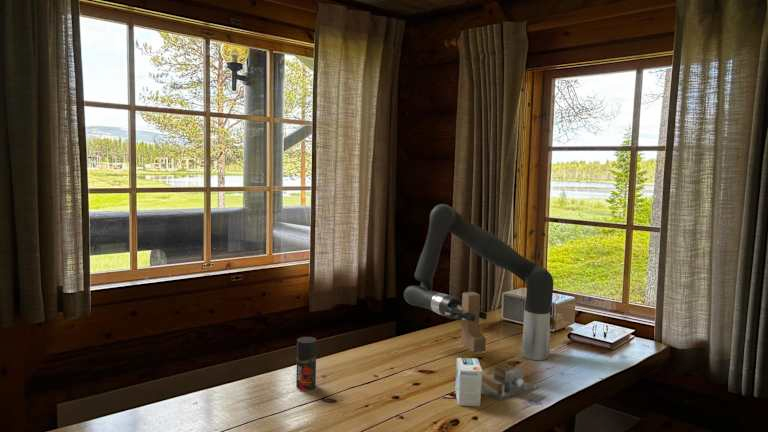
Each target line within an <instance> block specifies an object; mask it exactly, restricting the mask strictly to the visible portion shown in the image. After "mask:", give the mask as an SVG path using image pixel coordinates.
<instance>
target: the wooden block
mask: <svg viewBox="0 0 768 432" xmlns="http://www.w3.org/2000/svg"><path fill="white" fill-rule="evenodd" d="M461 299H462V300H461V302H462V308H463V309H464V311H465V312H466V313H470V314H473V315H475V322H472V321H469V320H467V319H466V320H463V319H461V331H460V333H461V335H460V337H461V339H460V343H461V345H462V346H464V347H465V348H467V349H469V350H470V351H472V352H473V353H478V352H485V351H486V345H487V341H486V340H487V339H486V337H485V336H484V335H483V334H482V331H481V329H480V318H479V312H480V307H481V305H480V304H481V294H479V293H477V292H475V291H466V292H463V293H462V298H461Z"/></svg>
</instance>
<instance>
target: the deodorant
mask: <svg viewBox="0 0 768 432" xmlns="http://www.w3.org/2000/svg"><path fill="white" fill-rule="evenodd" d="M317 340H318V339H317V338H316V337H313V336H301V337H299V338H297V339H296V375H295V376H296V378H295V379H296V382H295V384H296V385H295V387H297V388H298V389H300V390H299V391H301V390H303V391H302V392H309V391H313V390H315V389H316V384H317V381H316V379H317ZM297 388H296V389H297ZM298 389H297V390H298Z"/></svg>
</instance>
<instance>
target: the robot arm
mask: <svg viewBox="0 0 768 432" xmlns="http://www.w3.org/2000/svg"><path fill="white" fill-rule="evenodd" d="M448 233H451V234H452V235H454V236H456V237H457V238H458V239H460V240H461V242H463V243H464V244H465V245H466V246H467V247H469V248H470V249H471V250H472V251H473V252H474V253H475V254H477V255H478V256H479V257H481V258H482V259H484V260H486V261H488V262H489V263H490V264H492V265H494V266H495V267H499V268H501V269H504V270H506V271H508V272H510V273H512V274H513V275H514V276H516V277H517V278H519V279H520V280H521V281H522V282H523V283H524V284H525V285H526V295H525V301H524V309H523V310H524V313H523V327H522V329H523V331H522V343H521V346H522V347H521V355H522V357H523V358H524V359H525V358H526V359H528V360H532V361H543V360H544V361H545V360H546V359H548V357H549V356H550V347H551V346H550V345H551V330H550V323H551V308H552V304H553V295H554V278H553V275H552V274H551V273H550V271H548V269H546V268H545V267H543V266H541V265H539V264H537V263H535V262H533V261H531V260H529V259H527V258H526V257H524V256H523V255H521V254H519V253H518V251H517V250H515V249H514V248H512V246H510V245H509V244H507V243H506V242H505V241H504V240H502V239H500V238H498V237H497V236H496V235H494V234H492V233H491V232H489V231H487V230H486V229H484V228H482V227H481V226H478V225H476V224H475V223H472V222H470V221H469V220H468V219H466V217H464V216H462V215H461V214H459V212H458V211H457V210H455V209H454V208H453V207H452V206H450V205H448V204H446V203H440V204H437V205H436V206H434V207H433V209H432V210H431V212H430V213H429V224H428V232H427V236H426V240H425V242H424V246H423V248H422V252H421V253H420V257H419V259H418V262H417V265H416V269H415V272H414V279H416V280H417V281H418V282H420V286H419V285H409V286H407V287H406V288H405V289H404V292H403V298H404V300H405V302H406V303H408V304H409V305H410V306H415V307H420V308H423V309H427V310H429V311H432V312H434V313H436V314H438V315H441V316H443V317H446V318H449V319H450V320H457V321H462V319H463V320H466V319H467V320H469V321H472V322H475V315H473V314H470V313H466V312H465V311H464V309H463V308H462V300H461V299H460V298H458V297H455V296H452V295H449V294H446V293H442V292H439V291H434V290H433V281H434V280H433V279H434V276H435V273H436V269H437V267H438V263H439V258H440V255H441V251H442V247H443V244H444V241H445V239H446V237H447V235H448ZM479 319H481V320H487V319H488V313H487V312H485V311H483V308H482V307H481V306H480V312H479Z"/></svg>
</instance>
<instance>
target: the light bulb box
mask: <svg viewBox="0 0 768 432" xmlns="http://www.w3.org/2000/svg"><path fill="white" fill-rule="evenodd" d="M482 374H483V369H482V367H481V364H480V361H479V359H478V358H476V357H475V358H472V357H471V358H469V357H467V358H464V357H456V369H455V389H454V392H455V397H456V402H457V405H458V406H465V407H466V406H468V407H481V400H482V399H481V398H482V397H481V396H482V392H481V383H482Z"/></svg>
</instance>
